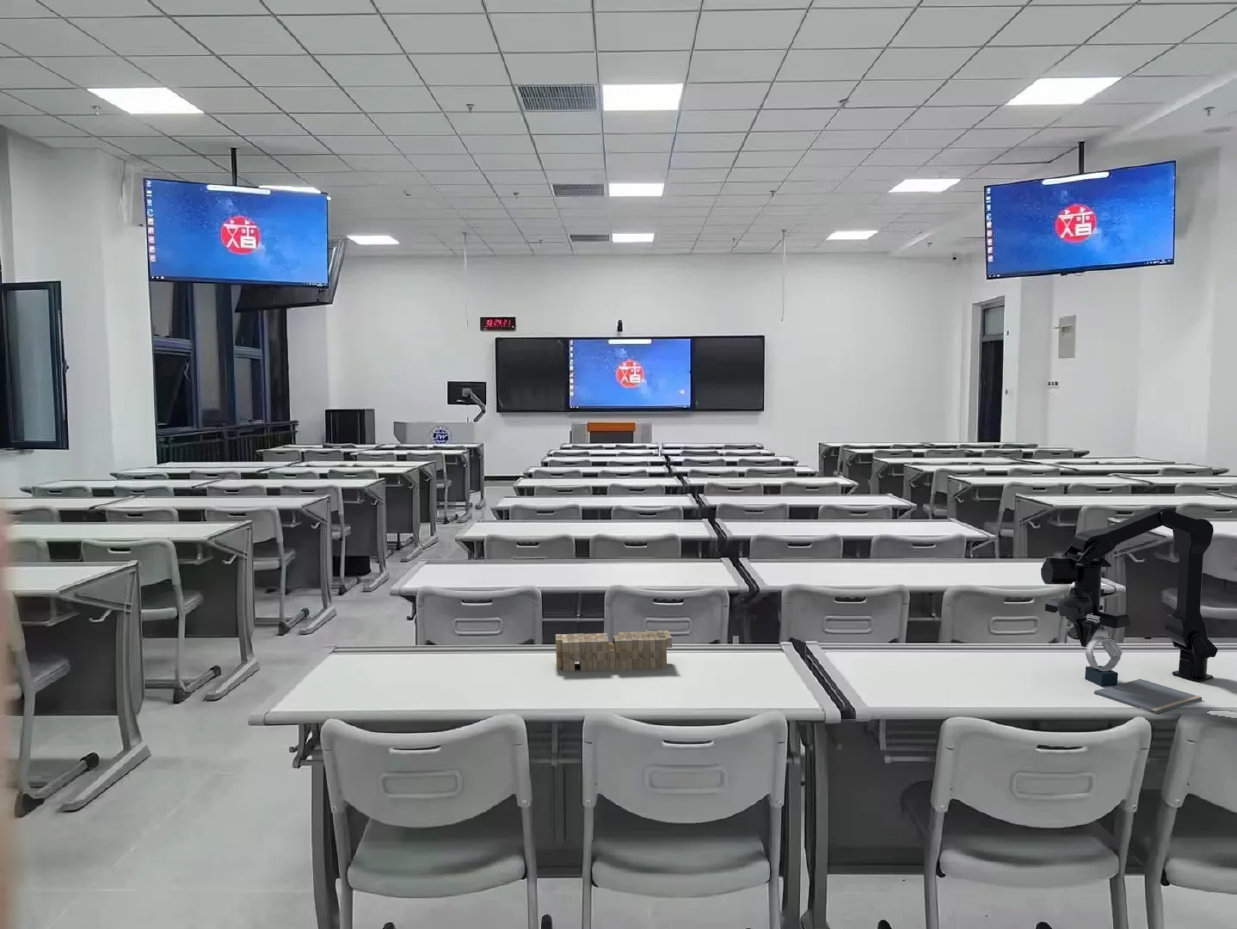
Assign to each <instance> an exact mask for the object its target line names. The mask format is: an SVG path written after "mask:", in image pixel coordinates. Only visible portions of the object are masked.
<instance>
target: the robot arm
mask: <svg viewBox="0 0 1237 929" xmlns="http://www.w3.org/2000/svg"><path fill="white" fill-rule="evenodd" d="M1160 527H1165V528H1168V529H1169V530H1172V536H1173V541H1174V543H1175V545H1176V547H1177V549H1178V554H1179V555H1178V575H1177V576H1178V577H1177V594H1176V609H1175V610H1174V612H1173V613H1172V614H1166V615H1165V623H1166V624H1165V627H1164V631H1165V632H1166V635H1167V637H1168V638H1169V639H1170V640H1171V642H1172V646H1173V647H1174V648H1177V649H1180V650H1179V659H1178V661H1179V662H1178V670H1174V671H1172V672H1171V674H1172V675H1174V676H1178V677H1181V678H1185V679H1188V680H1192V681H1195V682H1203V681H1207V680H1210V679H1213V678H1214V676H1213V675H1212V674H1208V673H1207V671H1208V661H1209V660H1208V659H1209V658H1215V657H1216V655H1217V653H1218V651H1219V649H1218V647H1217V646H1216V645H1215V644H1214V643H1213V642H1212V641H1211V640H1210V638H1208V629H1207V624H1206V622H1205V619H1204V618H1203V616H1202V615H1203V614H1202V613H1201V606H1202V605H1201V604H1202V601H1201V600H1202V588H1203V587H1202V586H1203V585H1202V584H1203V569H1204V568H1203V567H1204V554H1205V553H1206V551H1207V550H1208V549H1209V547H1210V546H1211V544H1212V540H1213V536H1214V525H1213V524H1212V523H1211V522H1210V521H1209V520H1207V519H1205V518H1201V517H1197V516H1192V515H1187V514H1181V513H1178V512H1176V511H1173V510H1172V509H1169V508H1166V507H1162V506H1157V505H1156V506H1153V507H1151V508H1149V509H1148V510H1146V511H1144V512H1141V513H1139V514H1137V515H1134V516H1132V517H1129V518H1127V519H1124V520H1122V521H1120V522H1117V523H1115V524H1113V525H1109V526H1106V527H1103V528H1094V529H1089V530H1085V531H1080V532H1077V533H1076V534H1075V535H1073V539H1072V542H1071V543H1070V545H1069V546H1068V547H1067V549H1065V551H1064V552H1063V553H1062V555H1061V556H1051V555H1050V556H1049V555H1047V556H1046V558H1045V561H1044V562H1043V563H1042V565H1041V568H1040V576H1041V580H1042V582H1043V583H1044V584H1045V585H1073V584H1074V585H1073V587H1070V590H1069V594H1068V595H1067V596H1065V597H1063V598H1061V597H1057V598H1050V599H1047V600H1046V601H1045V603H1044V611H1045V612H1049V613H1053V614H1057V613H1058V615H1059V616H1060V617H1065V619H1066V620H1067V621H1069V622H1070V623H1071V624H1072V625H1073V626H1074V628H1075V631H1076V633H1077V636H1078V640H1079V643H1080V645H1081V646H1080V647H1082V648H1087V645H1088V643H1089V642H1090V641H1091V640H1092V639H1093V638H1094V636H1095V634H1096V633H1097V631H1098V630H1099V629H1100V627H1102V626H1104V627H1106V628H1112V629H1120V628H1125V627H1130V626H1131V617H1130V615H1129V614H1128V613H1125V612H1120V611H1117V610H1109V611H1105V612H1104V611H1103V610H1104V605H1101V594H1104V593H1105V589H1104V588H1102V573H1103V568H1112V564H1111V563H1110V562H1108V561H1107V559H1106V557H1105V556H1107V555H1108V554H1110V553H1112V552H1113V551H1114V549H1116V547H1117V546H1118V545H1120V544H1122V543H1124V542H1127V541H1130V540H1131V539H1134V538H1136V537H1139V536H1141V535H1143V534H1146V533H1149V532H1150V531H1153V530H1156V529H1157V528H1160ZM1078 554H1079V555H1078Z"/></svg>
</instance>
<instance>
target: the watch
mask: <svg viewBox="0 0 1237 929" xmlns="http://www.w3.org/2000/svg"><path fill="white" fill-rule="evenodd" d="M1100 643H1101V646H1102V648H1103V650H1104V651H1106V653H1107V654H1108V656H1109V657H1110V659H1109V660H1108V662H1107V663H1105V665H1098V662H1097V660H1096V656H1095V655H1094V649H1095V648H1096V646H1097V645H1099V644H1100ZM1122 655H1123V650H1122V648H1121V647H1120V646H1119V644H1118V643H1117V642H1116V641H1115V640H1114V639H1113V638H1110V637H1104V636H1095V637H1093V638H1092V639H1091V641H1090V642H1089V643H1088V645H1087V647H1085V658H1086V660H1087V662H1088V664H1089V665H1086V666H1085V671H1084V673H1085V674H1084V679H1085V680H1086V681H1088V682H1091V683H1093V684H1095V685H1097V686H1099V687H1101V688H1102V687H1103V688H1105V687H1111V686H1115V685H1119V684H1118V683H1119V682H1118V681H1119V680H1118V679H1119V672H1117V671H1115V670H1113V669H1115V668H1116V666H1117V665H1118V663H1119V661H1121V657H1122Z"/></svg>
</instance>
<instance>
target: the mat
mask: <svg viewBox="0 0 1237 929" xmlns="http://www.w3.org/2000/svg"><path fill="white" fill-rule="evenodd" d="M1093 694H1095V695H1098V696H1101V697H1104V698H1107V699H1110V700H1112V701H1115V702H1119V703H1122V704H1125V705H1128V706H1131V707H1135V708H1138V709H1140V708H1143V709H1145V710H1144V711H1146V710H1148V711H1147V712H1149V713H1153V714H1160V713H1163V712H1166V710H1167V711H1169V710H1168V709H1170V710H1173V709H1176V708H1179V707H1183V706H1186V705H1189V704H1192V703H1196V702H1199V701H1202V700H1203V697H1202V696H1199V695H1195V694H1193V693H1189V692H1186V691H1182V690H1179V689H1176V688H1172V687H1169V686H1166V685H1162V684H1159V683H1156V682H1152V681H1148V680H1146V679H1141V678H1138V679H1134V680H1131V681H1130V680H1129V681H1127V682H1123V683H1120V684H1117V685H1115V686H1106V687H1103V688H1100V689H1096V690H1094V691H1093ZM1172 708H1173V709H1172ZM1143 709H1142V710H1143Z"/></svg>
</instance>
